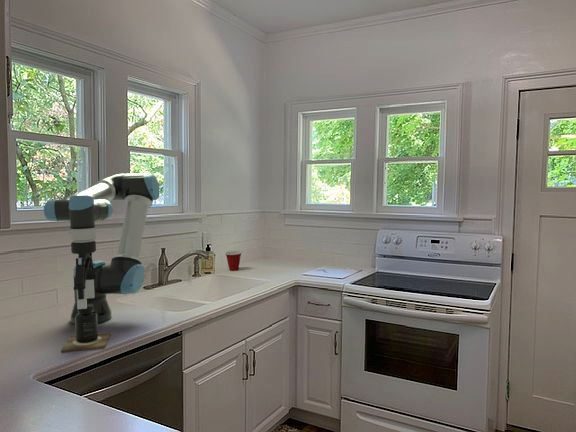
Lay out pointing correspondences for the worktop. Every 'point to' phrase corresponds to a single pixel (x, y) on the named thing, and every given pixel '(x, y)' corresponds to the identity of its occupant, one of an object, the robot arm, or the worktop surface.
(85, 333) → the supplement bottle
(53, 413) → the worktop surface
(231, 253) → the plastic cup
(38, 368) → the worktop surface
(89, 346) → the board
